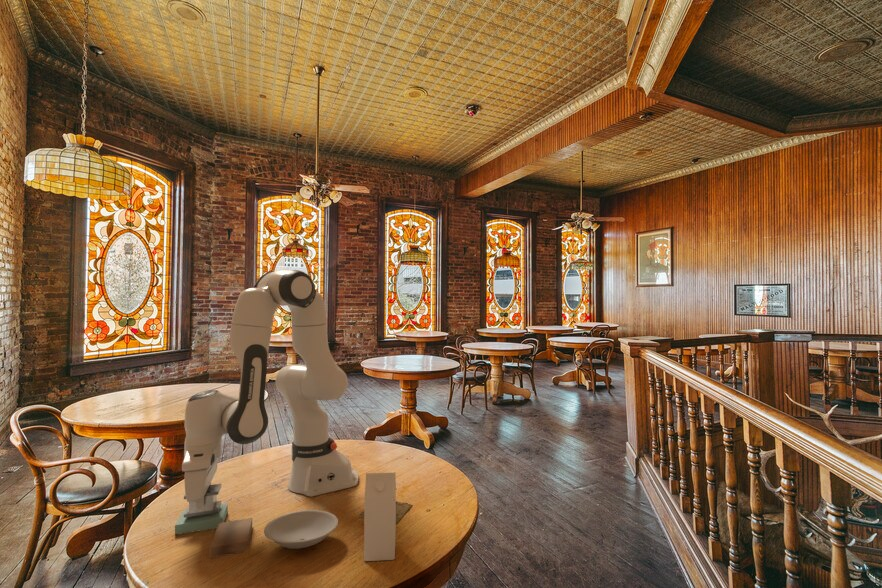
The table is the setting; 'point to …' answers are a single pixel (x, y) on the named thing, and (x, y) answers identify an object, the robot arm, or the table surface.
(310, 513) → the dish
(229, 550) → the stand
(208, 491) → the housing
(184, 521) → the stand
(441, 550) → the table surface
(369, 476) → the milk carton
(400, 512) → the speckled grey square slab
